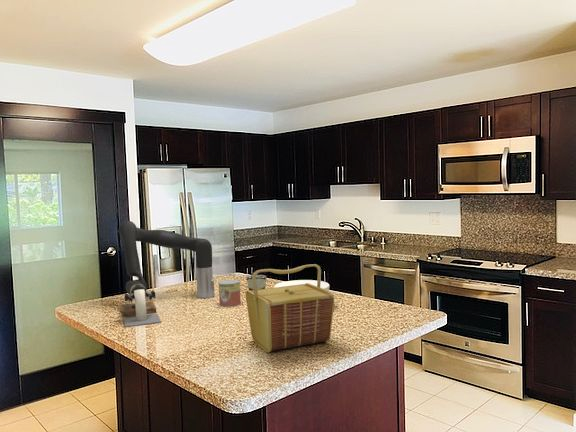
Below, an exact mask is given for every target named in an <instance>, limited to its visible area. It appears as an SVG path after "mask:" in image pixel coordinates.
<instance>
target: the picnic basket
mask: <svg viewBox="0 0 576 432" xmlns="http://www.w3.org/2000/svg"><path fill="white" fill-rule="evenodd" d="M311 267H313V268H314V267H315V268H316V269H317V280H316V281H317V286H315V285H312V284H309V283H306V284H300V285H292V286H284V287H276V288H274V287H270V288H269V287H268V288H265V289H260V290H257V285H256V275H259V273H268V272H270V273H273V274H276V275H277V274H278V275H287V274H294V273H297V272H300V271H302V270H304V269H305V268H306V269H307V268H311ZM321 268H322V267H321V266H320V265H318V264H316V263H314V264H311V263H310V264H304V265H301V266H297V267H294V268H289V269H275V268H264V269H263V268H262V269H258V270H255V271H254V272H253V274H252V275H253V277H252V280H253V288H254V290H251V291H249V290H246V291H245V301H246V306H247V307H246V308H247V314H248V320H249V326H250V334H251V335H250V336H251V338H252V340H253V342H254V343H255V344H256V345H258V346H259V347H260V348H261V349H262V350H263V351H265V352H266V353H271V352H273V351H280V350H284V349H292V348H296V347H301V346H308V345H312V344H318V343H328V342H330V339H331V333H332V327H333V318H334V317H333V315H334V309H335V295H334V294H333V292H332V291H328V290H325V289H322V288H320V283H321V281H322V280H321V278H322V277H321V276H322V269H321Z"/></svg>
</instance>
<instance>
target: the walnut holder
mask: <svg viewBox="0 0 576 432" xmlns="http://www.w3.org/2000/svg"><path fill="white" fill-rule="evenodd" d="M120 306H121V314H122V317H123V318H125V317H133V316H136V308H135V302H134V303H127V304H126V303H125V304H121V305H120ZM146 312H147V315H149V314H157V307H156V305H155V303H154V300H153V301H152V300H151V301H146Z"/></svg>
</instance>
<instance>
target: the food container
mask: <svg viewBox="0 0 576 432" xmlns="http://www.w3.org/2000/svg"><path fill="white" fill-rule="evenodd" d="M252 277H253V274H252V275H247V276H246V277H245V280H246V283H247V289H248V290H249V291H251V290H254V288H253V280H252ZM267 280H268V279H267V276H266V275H264V274H257V275H256V285H257V290H260V289H266V282H267Z"/></svg>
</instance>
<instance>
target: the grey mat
mask: <svg viewBox="0 0 576 432" xmlns="http://www.w3.org/2000/svg"><path fill="white" fill-rule="evenodd" d="M161 323H162V320H161V318H160V317H159V314H158V313H151V314H147V319H146V320H143V321H137V319H136V315H135V316H127V317H123V324H124V328H130V327H132V328H133V327H138V326H146V325H153V324H161Z"/></svg>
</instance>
